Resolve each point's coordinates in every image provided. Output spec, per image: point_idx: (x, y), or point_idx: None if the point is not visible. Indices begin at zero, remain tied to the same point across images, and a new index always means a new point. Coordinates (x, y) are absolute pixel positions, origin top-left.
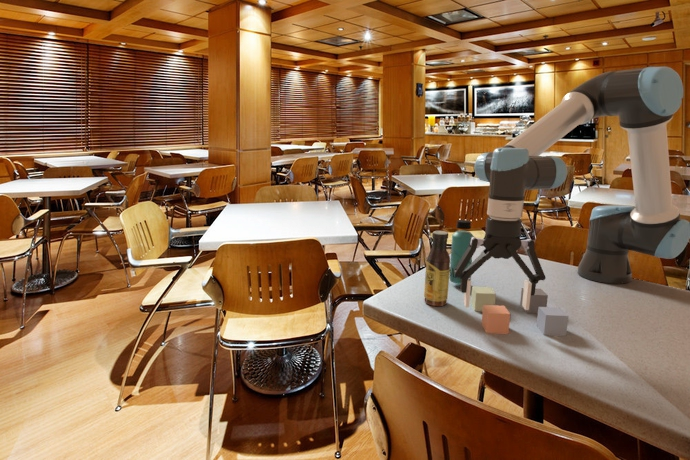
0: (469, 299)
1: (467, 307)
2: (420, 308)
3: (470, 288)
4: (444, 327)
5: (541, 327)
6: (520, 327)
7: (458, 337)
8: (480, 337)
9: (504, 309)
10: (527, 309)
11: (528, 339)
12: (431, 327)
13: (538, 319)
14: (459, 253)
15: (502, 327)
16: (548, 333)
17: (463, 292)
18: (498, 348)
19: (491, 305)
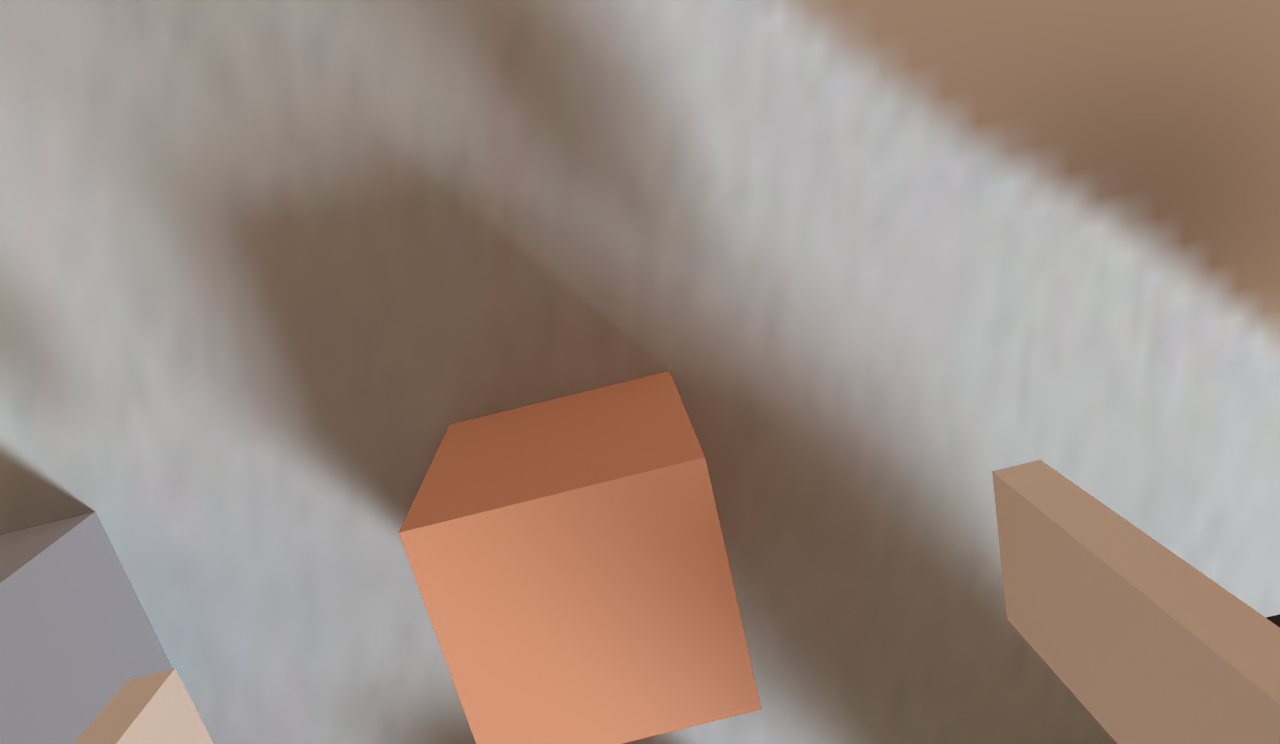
0: (1073, 537)
1: (1014, 466)
2: None
3: (1247, 678)
4: (1082, 364)
5: (101, 608)
6: (336, 609)
7: (958, 165)
8: (731, 241)
9: (482, 658)
10: (142, 679)
11: (239, 355)
12: (1212, 321)
13: None
14: None
15: (507, 435)
16: (35, 531)
17: (1271, 620)
18: (543, 15)
19: (653, 727)
